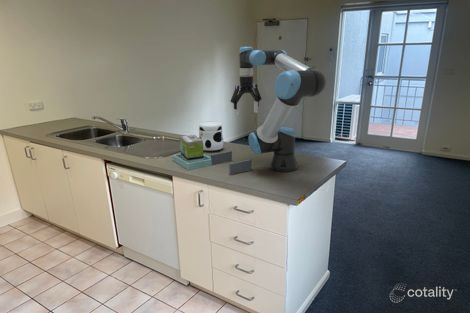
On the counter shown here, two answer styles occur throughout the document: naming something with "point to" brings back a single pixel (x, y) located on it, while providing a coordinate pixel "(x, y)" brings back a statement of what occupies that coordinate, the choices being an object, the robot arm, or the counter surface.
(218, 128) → the milk container
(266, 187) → the counter surface
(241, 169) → the dock
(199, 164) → the tray
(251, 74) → the robot arm
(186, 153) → the tea box
